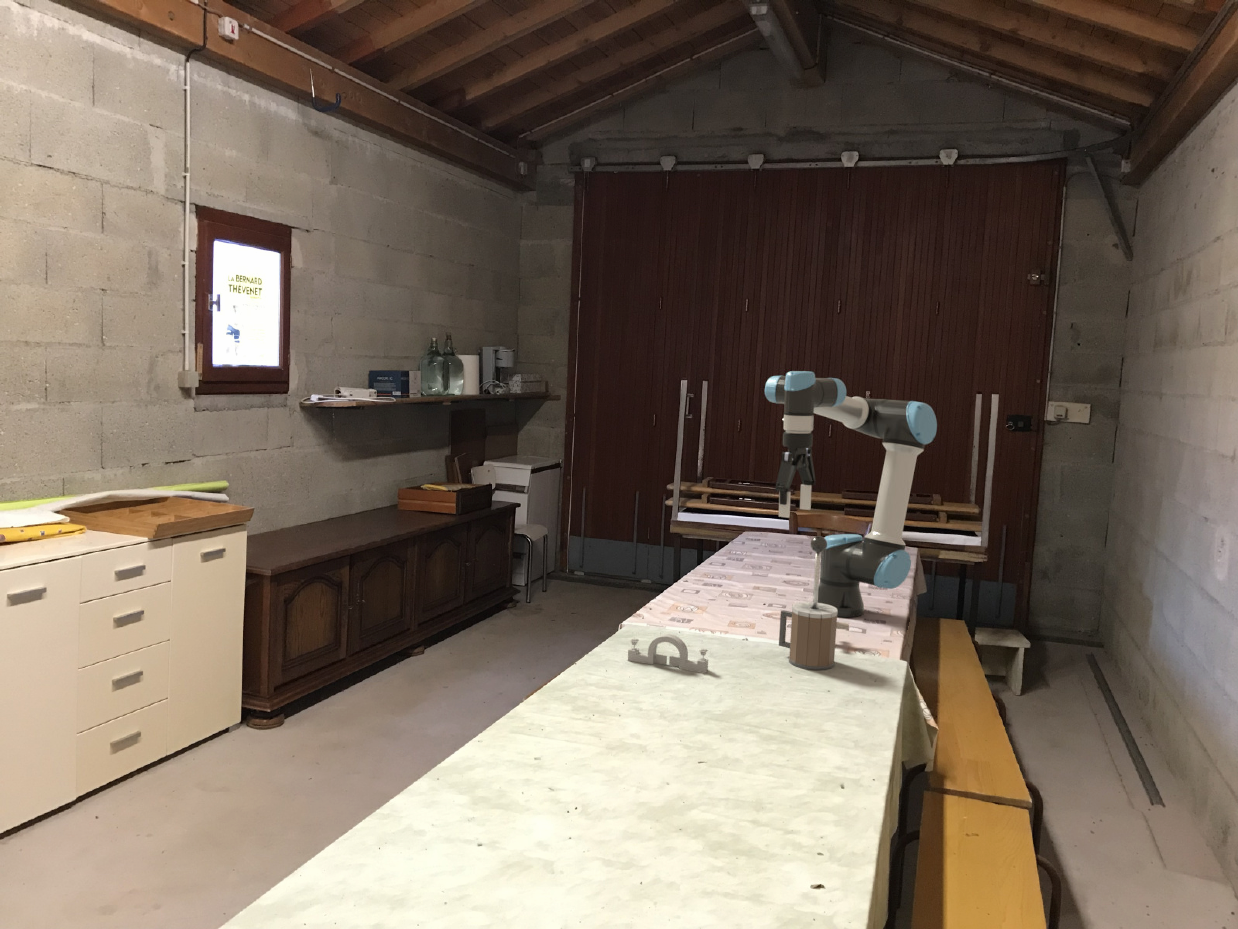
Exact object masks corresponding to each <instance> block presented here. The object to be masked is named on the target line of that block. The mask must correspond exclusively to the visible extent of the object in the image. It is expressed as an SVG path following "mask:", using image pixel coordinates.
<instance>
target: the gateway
mask: <svg viewBox="0 0 1238 929" xmlns="http://www.w3.org/2000/svg"><path fill="white" fill-rule="evenodd" d="M638 641H640V640H639V639H638V638H634V637H633V638H632V639H631V640H630V642H631V645H632V647H630V648H629V649H628V651H627V661H628V662H629V661H630V662H635V663H640V664H641V663H642V664H648V665H654V664H661V665H665V664H666V666H667V665H668V664H669V666H674V667H678V669H679V670H684V671H692V672H698V673H703V674H705V673H707V671H708V670H709V659H708V658H705V657H704V656H706V654H707V652H708V651H709V650H708V649H706V648H701V649H700V650H699V654H700V656H702V657H700V658H699V659H698V660H692V659H688V658H689V652H688V651H689V650H688V647H687V645H686V643H685V642H684V641H683V639H681V638H680V637H678V636H677V635H674V634H672V633H664V634H660V635H658V636H657V637H655V638H654V639H653V640H652V641H651V642H650V643H649V646H648V648H647V653H646V652H641V651H640V648H637V647H636V645H638ZM661 643H668V644H671V645H673V646H674V647H675V648H676V649H677V650H678V652H679V656H674V655H669V658H668V655H666V654H659V653H657V648H658V645H659V644H661ZM668 660H669V662H668Z"/></svg>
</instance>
